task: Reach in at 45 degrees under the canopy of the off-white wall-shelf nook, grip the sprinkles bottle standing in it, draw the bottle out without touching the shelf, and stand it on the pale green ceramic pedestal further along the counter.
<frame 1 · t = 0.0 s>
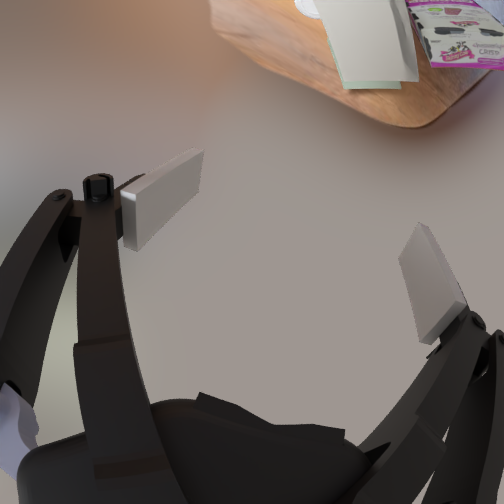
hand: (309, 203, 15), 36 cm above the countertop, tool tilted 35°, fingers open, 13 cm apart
candy bar box: (439, 8, 17), on the countertop
pedestal: (366, 56, 32), on the countertop
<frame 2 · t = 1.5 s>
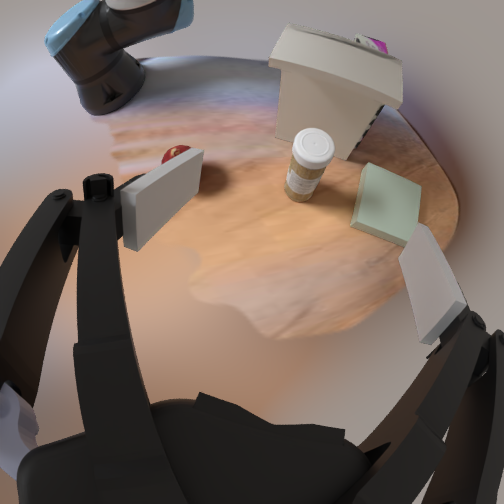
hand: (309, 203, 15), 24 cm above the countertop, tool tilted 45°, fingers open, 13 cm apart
candy bar box: (344, 121, 42), on the countertop
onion: (187, 175, 41), on the countertop
pedestal: (384, 208, 39), on the countertop
sprinkles bottle: (298, 189, 40), on the countertop
shelf nook: (298, 188, 40), on the countertop
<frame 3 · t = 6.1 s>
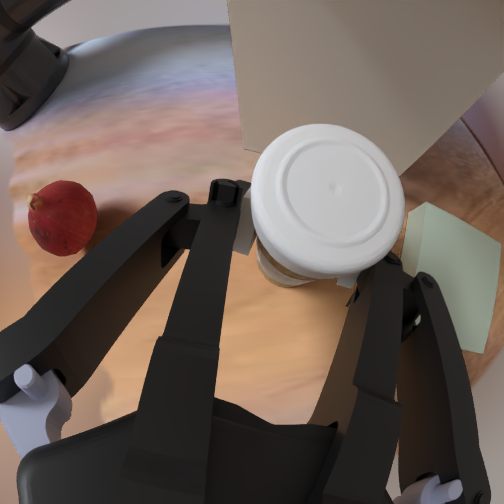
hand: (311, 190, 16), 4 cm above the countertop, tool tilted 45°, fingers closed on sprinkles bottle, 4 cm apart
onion: (88, 229, 21), on the countertop
pedestal: (442, 285, 19), on the countertop
sprinkles bottle: (286, 258, 20), on the countertop, touching gripper
shelf nook: (287, 257, 20), on the countertop
when the fingers open (8 cm above the countertop, at t = 13.1 s): sprinkles bottle stays where it is, resting on pedestal.
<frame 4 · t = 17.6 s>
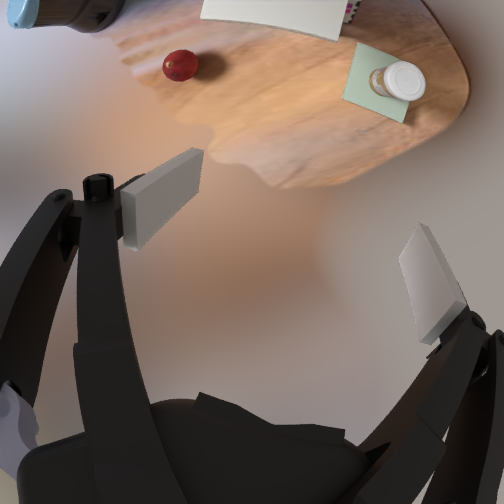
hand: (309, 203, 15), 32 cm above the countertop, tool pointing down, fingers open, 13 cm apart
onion: (191, 66, 38), on the countertop
pedestal: (378, 82, 33), on the countertop
sprinkles bottle: (382, 82, 31), point 3 cm above the countertop, touching pedestal
shelf nook: (290, 65, 35), on the countertop
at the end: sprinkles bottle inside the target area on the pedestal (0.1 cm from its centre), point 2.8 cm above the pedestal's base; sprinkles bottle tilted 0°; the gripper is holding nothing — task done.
